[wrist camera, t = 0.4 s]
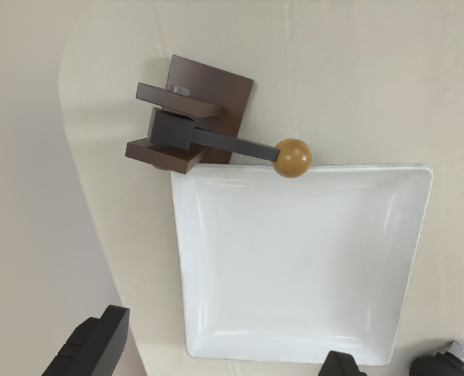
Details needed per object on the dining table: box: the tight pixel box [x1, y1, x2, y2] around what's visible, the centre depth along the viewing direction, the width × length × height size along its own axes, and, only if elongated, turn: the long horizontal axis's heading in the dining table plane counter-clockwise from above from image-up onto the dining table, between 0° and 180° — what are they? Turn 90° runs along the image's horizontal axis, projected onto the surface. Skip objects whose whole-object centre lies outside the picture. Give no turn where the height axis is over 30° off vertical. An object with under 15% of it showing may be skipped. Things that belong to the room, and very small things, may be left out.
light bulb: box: [409, 340, 464, 376], centre depth 35 cm, size 6×6×10 cm
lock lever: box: [148, 107, 312, 178], centre depth 22 cm, size 14×4×4 cm, turn 73°
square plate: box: [170, 163, 434, 366], centre depth 32 cm, size 27×27×4 cm
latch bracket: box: [125, 55, 254, 175], centre depth 24 cm, size 9×12×14 cm
